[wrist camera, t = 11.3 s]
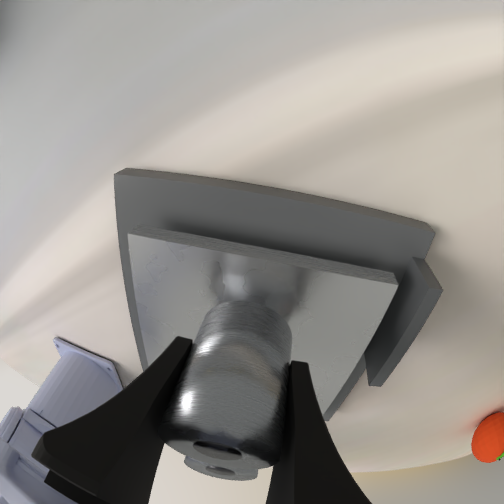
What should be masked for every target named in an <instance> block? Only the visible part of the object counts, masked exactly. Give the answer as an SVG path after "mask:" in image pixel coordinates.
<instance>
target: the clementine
mask: <svg viewBox="0 0 504 504" xmlns="http://www.w3.org/2000/svg"><path fill="white" fill-rule="evenodd" d="M471 446H472V452H473V454H474V456H475V457H476V458H477V459H478V460H480V461H481V462H486V463H491V462H494V461H496V460H498V459H499V460H500V458H502V457H503V456H504V413H495V414H493V415H490V416H488V417H487V418H486V419H485V420H483V421H482V422H481V423H480V425H479V426H478V427H477V429H476V430H475V433H474V435H473V438H472V443H471Z"/></svg>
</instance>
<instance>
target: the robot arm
mask: <svg viewBox="0 0 504 504" xmlns="http://www.w3.org/2000/svg"><path fill="white" fill-rule="evenodd" d="M53 342H54V344H55V346H56V348H57V350H58V352H59V354H60V356H61V358H60V359H59V361H58V362H57V364H56V365H55V366H54V368H53V369H52V371H51V372H50V374H49V375H48V376H47V378H46V379H45V381H44V382H43V384H42V385H41V387H40V388H39V390H38V391H37V393H36V395H35V396H34V398H33V399H32V400H31V402H30V404H29V405H28V407H27V408H26V409H23V410H22V409H21V408H20V407H12V408H10V410H9V411H8V412H7V414H6V415H5V417H4V418H3V420H2V422H1V423H0V504H148V503H149V498H150V494H151V489H152V485H153V481H154V477H155V473H156V470H157V466H158V463H159V459H160V456H161V453H162V449H163V446H164V443H165V442H164V441H163V440H162V439H161V438H160V436H159V434H158V428H159V426H160V423H161V421H162V418H163V416H164V413H165V411H166V408H167V406H168V403H169V401H170V398H171V396H172V393H173V391H174V389H175V386H176V384H177V381H178V379H179V376H180V374H181V371H182V369H183V367H184V364H185V362H186V359H187V357H188V355H189V352H190V350H191V347H192V345H193V340H192V339H188V338H185V337H181V336H177V337H175V339H174V340H173V341H172V342H171V343H170V345H169V346H168V347H167V348H166V349H165V350H164V351H163V352H162V353H161V355H160V356H159V357H158V358H157V359H156V360H155V361H154V362H153V363H152V364H151V365H150V366H149V367H148V368H147V369H146V370H145V371H144V372H143V373H142V374H140V375H139V376H138V377H137V378H136V379H135V380H134V381H132V382H131V383H130V384H129V385H128V386H127V387H125V388H124V389H123V387H122V385H121V382H120V380H119V377H118V374H117V372H116V369H115V367H114V364H113V363H112V362H111V361H109V360H106V359H104V358H101V357H99V356H96V355H94V354H92V353H89V352H87V351H85V350H82V349H80V348H78V347H76V346H74V345H71V344H69V343H67V342H65V341H63V340H61V339H59V338H57V337H55V338H54V339H53ZM266 504H372V503H371V502H370V501H369V499H368V498H367V497H366V496H365V494H364V493H363V492H362V491H361V489H360V487H359V486H358V485H357V483H356V482H355V480H354V479H353V477H352V475H351V474H350V472H349V471H348V469H347V467H346V466H345V464H344V462H343V460H342V459H341V457H340V455H339V453H338V451H337V449H336V447H335V445H334V443H333V441H332V438H331V436H330V434H329V431H328V429H327V426H326V424H325V421H324V418H323V416H322V413H321V410H320V407H319V404H318V401H317V397H316V394H315V390H314V387H313V383H312V379H311V374H310V369H309V364H308V363H307V362H301V361H295V360H292V361H291V364H290V371H289V382H288V395H287V405H286V414H285V424H284V432H283V441H282V449H281V456H280V461H279V462H278V463H277V464H275V465H274V466H273V472H272V477H271V482H270V487H269V491H268V496H267V500H266Z"/></svg>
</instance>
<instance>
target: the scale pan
mask: <svg viewBox="0 0 504 504" xmlns="http://www.w3.org/2000/svg"><path fill="white" fill-rule="evenodd" d="M128 244H129V254H130V263H131V271H132V279H133V286H134V293H135V299H136V305H137V311H138V317H139V323H140V328H141V333H142V338H143V343H144V348H145V353H146V357H147V362H148V366H150V365H151V364H152V363H153V362H154V361H155V360H156V359H157V358H158V357H159V356H160V355H161V353H162V352H163V351H164V350H165V349H166V348H167V347H168V346H169V345H170V343H171V342H172V341H173V340H174V339H175V337H177V336H181V337H185V338H188V339H192V340H193V343H194V340H195V338H196V335H197V333H198V331H199V328H200V326H201V324H202V321H203V319H204V317H205V315H206V314H207V312H208V311H209V310H210V309H212V308H213V307H215V306H217V305H219V304H221V303H224V302H229V301H250V302H255V303H258V304H261V305H264V306H266V307H269V308H270V309H272V310H274V311H275V312H277V313H278V314H280V315H281V316H282V317H283V318H284V319H285V320H286V322H287V323H288V325H289V327H290V329H291V332H292V350H291V361H292V360H295V361H301V362H307V363H308V364H309V369H310V374H311V379H312V383H313V387H314V390H315V394H316V397H317V401H318V404H319V407H320V410H321V413H322V416H323V414H324V413H325V412H326V410H327V409H328V407H329V406H330V404H331V403H332V402H333V400H334V399H335V397H336V396H337V394H338V393H339V391H340V390H341V388H342V387H343V385H344V384H345V382H346V381H347V379H348V377H349V376H350V374H351V373H352V371H353V369H354V368H355V366H356V364H357V363H358V361H359V360H360V358H361V356H362V354H363V353H364V351H365V349H366V348H367V346H368V344H369V342H370V341H371V339H372V337H373V335H374V333H375V331H376V330H377V328H378V326H379V324H380V322H381V320H382V318H383V316H384V314H385V312H386V310H387V308H388V306H389V304H390V302H391V300H392V298H393V296H394V294H395V292H396V290H397V288H398V286H399V285H398V283H397V280H396V278H395V276H394V273H393V272H388V271H383V270H377V269H372V268H367V267H362V266H357V265H352V264H347V263H342V262H337V261H331V260H326V259H321V258H316V257H311V256H305V255H300V254H295V253H290V252H285V251H279V250H274V249H269V248H263V247H258V246H253V245H248V244H242V243H237V242H232V241H226V240H221V239H216V238H210V237H205V236H199V235H194V234H189V233H183V232H178V231H172V230H167V229H161V228H156V227H150V226H145V225H139V224H138V225H137V226H135V227H134V228H133V229H132V230H131V231H130V232H129V233H128ZM290 364H291V362H290Z"/></svg>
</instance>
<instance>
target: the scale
mask: <svg viewBox="0 0 504 504" xmlns="http://www.w3.org/2000/svg"><path fill="white" fill-rule="evenodd" d="M114 189H115V206H116V219H117V230H118V239H119V248H120V256H121V264H122V271H123V277H124V284H125V290H126V296H127V301H128V307H129V312H130V317H131V322H132V327H133V331H134V336H135V340H136V345H137V349H138V353H139V357H140V361H141V365H142V369H143V372H144V371H145V370H146V369H147V368H148V367H149V366H148V362H147V357H146V353H145V348H144V343H143V338H142V333H141V328H140V323H139V317H138V311H137V305H136V299H135V293H134V286H133V279H132V271H131V263H130V254H129V244H128V233H129V232H130V231H131V230H132V229H133V228H134V227H135V226H137V225H138V224H139V225H145V226H150V227H156V228H161V229H167V230H172V231H178V232H183V233H189V234H194V235H199V236H205V237H210V238H216V239H221V240H226V241H232V242H237V243H242V244H248V245H253V246H258V247H263V248H269V249H274V250H279V251H285V252H290V253H295V254H300V255H305V256H311V257H316V258H321V259H326V260H331V261H337V262H342V263H347V264H352V265H357V266H362V267H367V268H372V269H377V270H383V271H388V272H393V273H394V276H395V278H396V280H397V283H398V285H399V286H398V288H397V290H396V292H395V294H394V296H393V298H392V300H391V302H390V304H389V306H388V308H387V310H386V312H385V314H384V316H383V318H382V320H381V322H380V324H379V326H378V328H377V330H376V331H375V333H374V335H373V337H372V339H371V341H370V342H369V344H368V346H367V348H366V349H365V351H364V353H363V354H362V356H361V358H360V360H359V361H358V363H357V364H356V366H355V368H354V369H353V371H352V373H351V374H350V376H349V377H348V379H347V381H346V382H345V384H344V385H343V387H342V388H341V390H340V391H339V393H338V394H337V396H336V397H335V399H334V400H333V402H332V403H331V404H330V406H329V407H328V409H327V410H326V412H325V413H324V414H323V418H324V421H329V419H330V418H331V417H332V416H333V414H334V413H335V412H336V410H337V409H338V408H339V406H340V405H341V404H342V402H343V401H344V400H345V398H346V397H347V395H348V394H349V393H350V391H351V390H352V388H353V387H354V385H355V384H356V383H357V381H358V380H359V378H360V377H361V375H362V374H363V372H364V371H365V369H367V376H368V383H369V386H379V387H381V386H382V385H383V383H384V382H385V381H386V379H387V378H388V377H389V375H390V374H391V373H392V371H393V370H394V369H395V367H396V366H397V364H398V363H399V362H400V360H401V359H402V357H403V356H404V354H405V353H406V352H407V350H408V349H409V347H410V346H411V344H412V342H413V341H414V339H415V338H416V336H417V335H418V333H419V332H420V330H421V328H422V327H423V325H424V323H425V322H426V320H427V318H428V317H429V315H430V313H431V311H432V310H433V308H434V306H435V304H436V303H437V301H438V299H439V297H440V295H441V293H442V292H443V289H442V287H441V286H440V284H439V282H438V281H437V279H436V277H435V276H434V274H433V272H432V271H431V269H430V267H429V266H428V264H427V263H426V261H425V260H424V259H425V257H426V255H427V252H428V250H429V248H430V245H431V243H432V240H433V238H434V235H435V232H434V231H433V230H432V229H431V227H430V226H429V225H428V224H427V223H425V222H421V221H418V220H414V219H411V218H407V217H403V216H399V215H396V214H392V213H388V212H384V211H380V210H376V209H372V208H368V207H364V206H359V205H355V204H351V203H346V202H342V201H337V200H333V199H328V198H323V197H319V196H314V195H309V194H304V193H299V192H294V191H288V190H283V189H278V188H272V187H266V186H261V185H255V184H249V183H243V182H236V181H230V180H223V179H216V178H209V177H202V176H194V175H186V174H178V173H170V172H161V171H151V170H141V169H130V168H125V169H123V170H121V171H119V172H117V173H115V174H114Z"/></svg>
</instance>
